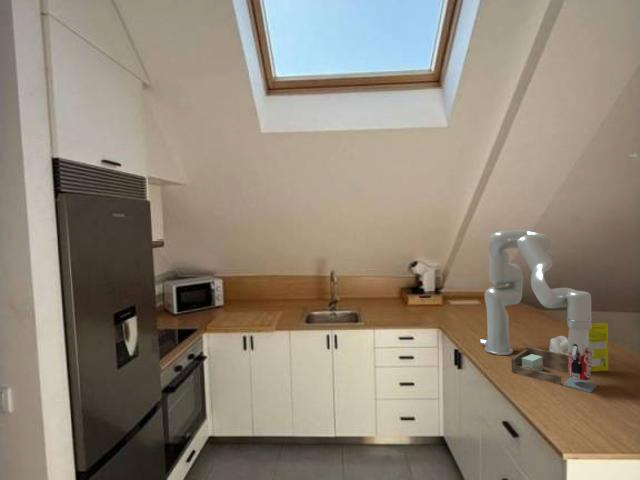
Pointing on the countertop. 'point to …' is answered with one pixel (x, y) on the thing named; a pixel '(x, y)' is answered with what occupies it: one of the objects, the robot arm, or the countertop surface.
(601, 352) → the food package
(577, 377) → the soda can
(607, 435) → the countertop surface
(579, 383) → the slate mat
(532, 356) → the offcut upper
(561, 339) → the white decorative knot
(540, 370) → the offcut lower
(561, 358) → the frame
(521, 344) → the countertop surface
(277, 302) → the countertop surface
